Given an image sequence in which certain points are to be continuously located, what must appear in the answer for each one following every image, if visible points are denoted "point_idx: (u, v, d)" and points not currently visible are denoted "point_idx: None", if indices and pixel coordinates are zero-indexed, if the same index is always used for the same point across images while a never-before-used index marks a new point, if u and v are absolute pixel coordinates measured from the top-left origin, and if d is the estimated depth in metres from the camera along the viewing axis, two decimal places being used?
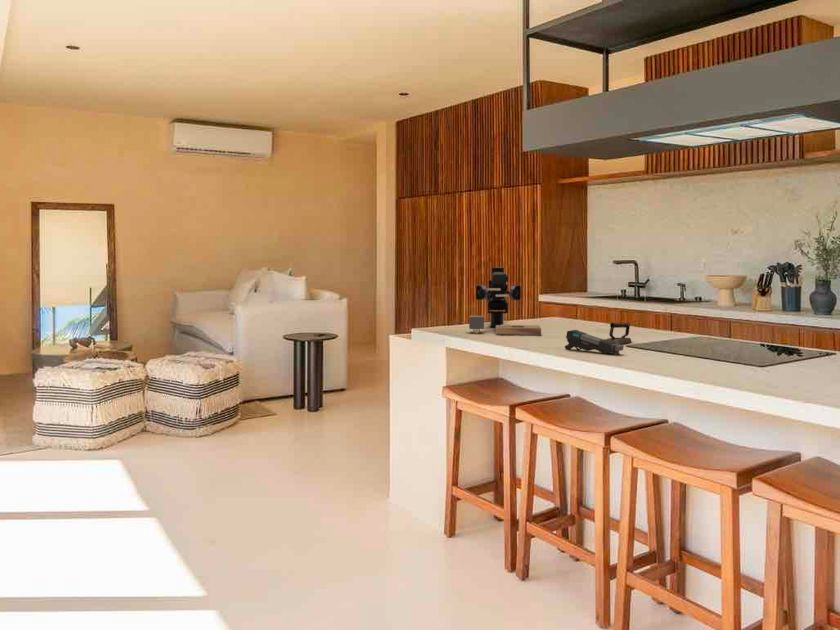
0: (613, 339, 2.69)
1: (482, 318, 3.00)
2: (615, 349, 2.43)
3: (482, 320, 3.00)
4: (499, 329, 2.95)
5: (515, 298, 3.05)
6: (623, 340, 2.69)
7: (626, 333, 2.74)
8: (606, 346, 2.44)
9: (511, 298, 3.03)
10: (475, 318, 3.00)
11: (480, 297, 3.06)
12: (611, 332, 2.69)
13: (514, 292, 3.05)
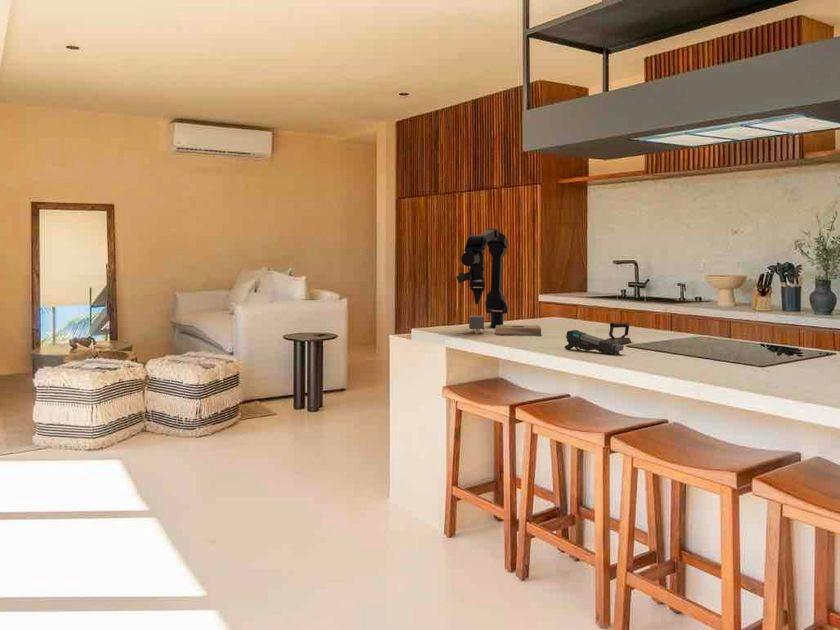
0: (613, 339, 2.69)
1: (482, 318, 3.00)
2: (615, 349, 2.43)
3: (482, 320, 3.00)
4: (499, 329, 2.95)
5: (482, 289, 2.94)
6: (623, 340, 2.69)
7: (625, 333, 2.74)
8: (606, 346, 2.44)
9: (482, 292, 2.96)
10: (475, 318, 3.00)
11: None
12: (611, 332, 2.69)
13: (476, 288, 2.95)
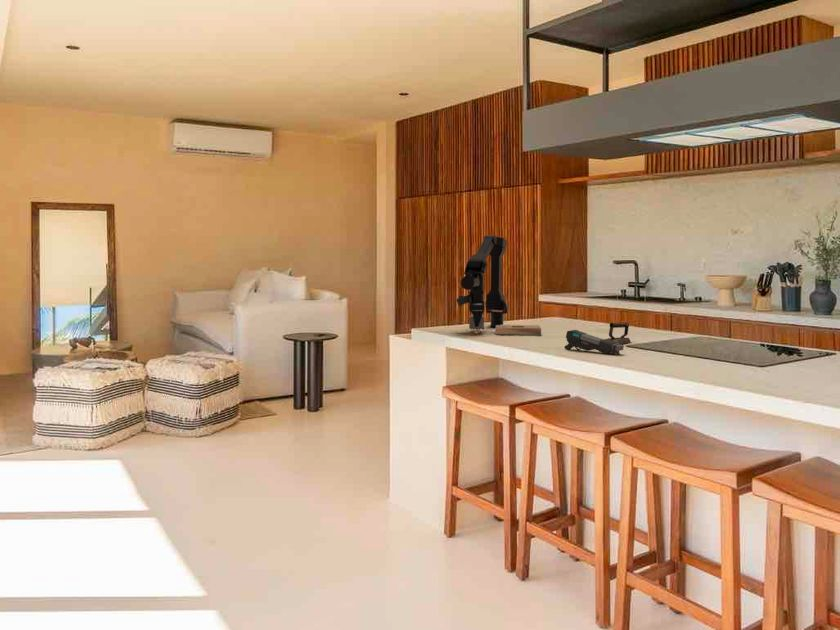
0: (612, 339, 2.69)
1: (482, 318, 3.00)
2: (615, 349, 2.43)
3: (482, 320, 3.00)
4: (499, 329, 2.95)
5: (482, 311, 2.97)
6: (622, 340, 2.69)
7: (625, 333, 2.74)
8: (606, 346, 2.44)
9: None
10: None
11: None
12: (610, 332, 2.69)
13: (476, 311, 2.97)
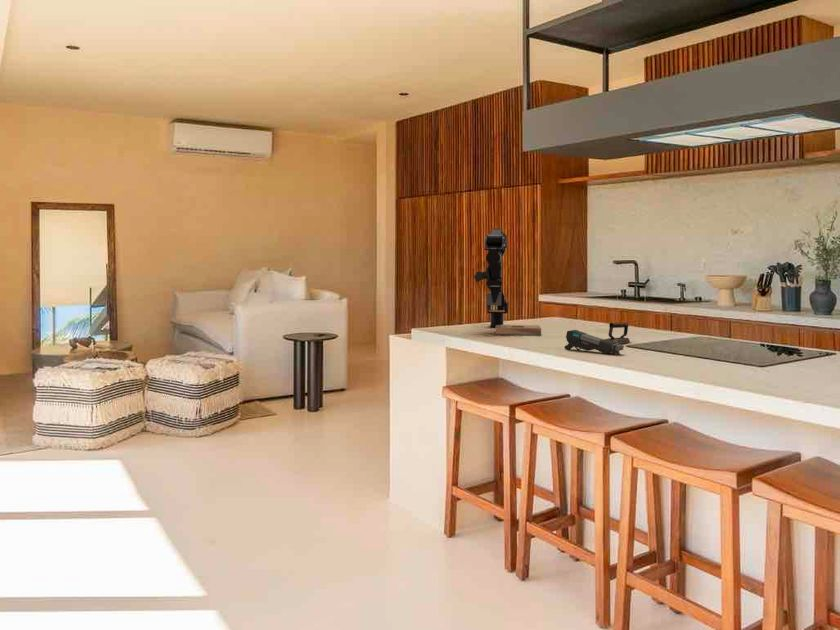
0: (612, 339, 2.69)
1: (500, 294, 2.97)
2: (615, 349, 2.43)
3: (499, 296, 2.97)
4: (499, 329, 2.95)
5: (500, 287, 2.94)
6: (622, 340, 2.69)
7: (624, 333, 2.74)
8: (606, 346, 2.44)
9: (499, 291, 2.96)
10: None
11: None
12: (610, 332, 2.69)
13: (493, 287, 2.95)
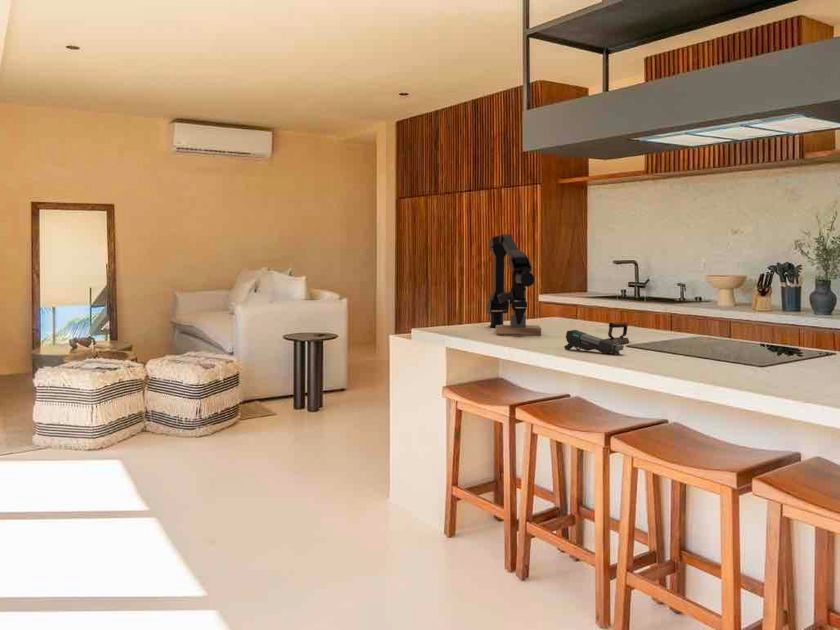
0: (612, 339, 2.69)
1: (524, 316, 2.96)
2: (615, 349, 2.43)
3: (524, 318, 2.97)
4: (499, 329, 2.95)
5: (525, 309, 2.92)
6: (622, 340, 2.69)
7: (624, 333, 2.74)
8: (606, 346, 2.44)
9: None
10: None
11: None
12: (610, 332, 2.69)
13: (518, 309, 2.92)
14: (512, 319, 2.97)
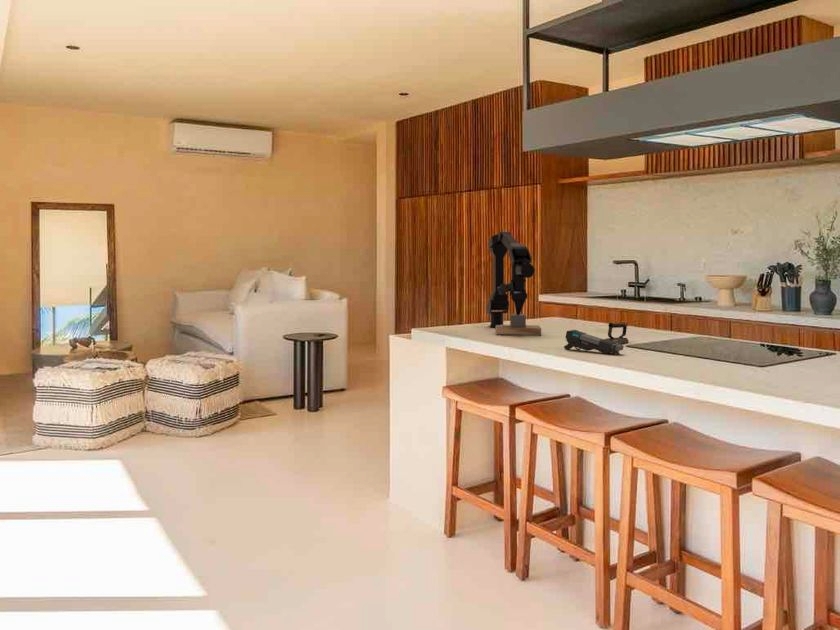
0: (612, 339, 2.69)
1: (524, 316, 2.96)
2: (615, 349, 2.43)
3: (524, 318, 2.97)
4: (499, 329, 2.95)
5: (524, 299, 2.96)
6: (621, 340, 2.69)
7: (623, 333, 2.74)
8: (606, 346, 2.45)
9: (523, 303, 2.98)
10: (517, 316, 2.97)
11: None
12: (610, 332, 2.69)
13: (518, 299, 2.96)
14: (512, 319, 2.97)
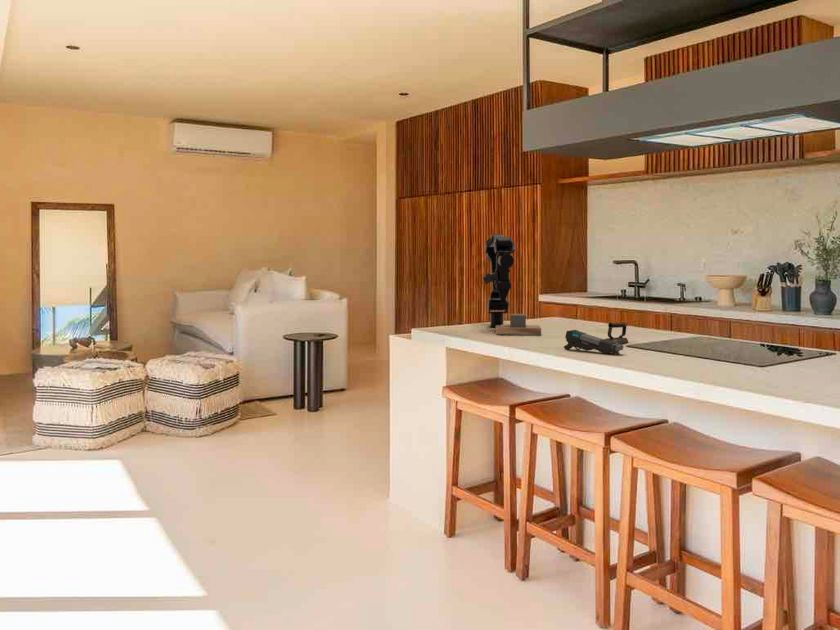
0: (611, 339, 2.69)
1: (524, 316, 2.96)
2: (615, 349, 2.43)
3: (524, 318, 2.97)
4: (499, 329, 2.95)
5: (508, 289, 3.06)
6: (621, 340, 2.69)
7: (623, 333, 2.74)
8: (606, 346, 2.45)
9: None
10: (517, 316, 2.97)
11: None
12: (609, 332, 2.69)
13: (502, 288, 3.06)
14: (512, 319, 2.97)
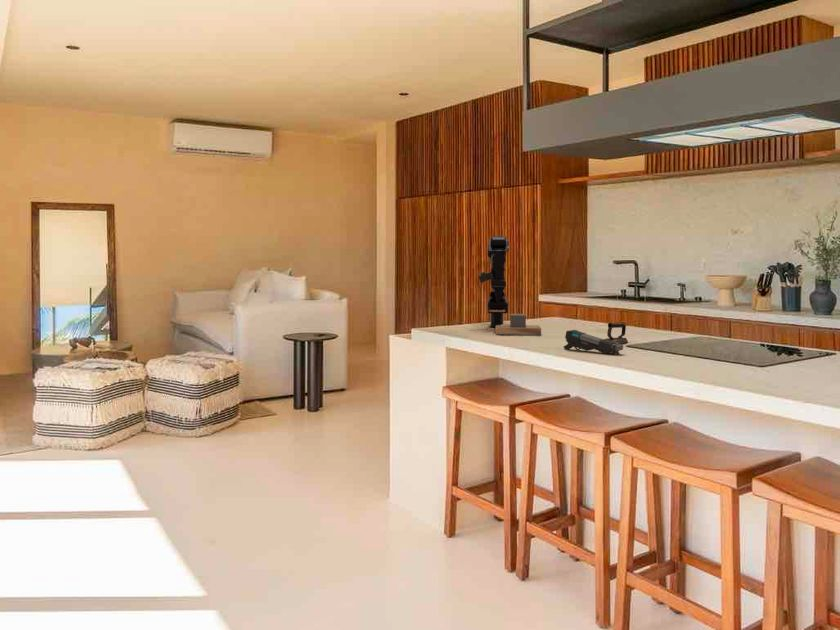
0: (611, 339, 2.69)
1: (524, 316, 2.96)
2: (615, 349, 2.43)
3: (524, 318, 2.97)
4: (499, 329, 2.95)
5: (503, 287, 3.09)
6: (621, 340, 2.69)
7: (622, 333, 2.74)
8: (606, 346, 2.45)
9: (503, 291, 3.11)
10: (517, 316, 2.97)
11: None
12: (609, 332, 2.69)
13: (497, 287, 3.09)
14: (512, 319, 2.97)
